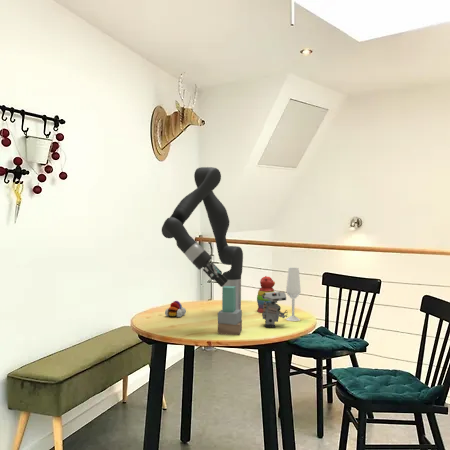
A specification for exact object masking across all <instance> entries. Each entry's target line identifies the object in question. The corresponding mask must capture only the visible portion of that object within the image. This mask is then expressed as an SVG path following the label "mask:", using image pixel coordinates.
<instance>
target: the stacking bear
mask: <svg viewBox="0 0 450 450" xmlns="http://www.w3.org/2000/svg"><path fill="white" fill-rule="evenodd" d="M259 283H260V288H259V289H258V291H257V296H256V302H257V303H256V304H257V309H256V311H257V312H258V313H260V314H262V313H263V306H264V302H265V301H266V303H272V302H271V301H270V300H268V299H263V298H262V294H264V293H269V292H275V289H274V286H275V284H276V282H275V281H274V280H273V278H272V277H270V276H267V275H265V276H263V277H261V279H260V280H259ZM267 301H268V302H267Z"/></svg>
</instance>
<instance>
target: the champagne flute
mask: <svg viewBox="0 0 450 450" xmlns="http://www.w3.org/2000/svg"><path fill="white" fill-rule="evenodd" d="M300 277H301V276H300V269H299V267H288V270H287V280H286V287H285V288H286V289H285V291H286V292H285V294H286V295H287V296H289V298H290V299H291V315H290V316H289V317H288V316H287V317H286V318H285V320H286V321H289V322H298V321H299V322H300V321H301V319H300V318H299V317H297V316H296V315H295V299H297V297H299V296H300V295H301V280H300Z"/></svg>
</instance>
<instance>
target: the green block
mask: <svg viewBox="0 0 450 450" xmlns="http://www.w3.org/2000/svg"><path fill="white" fill-rule="evenodd" d="M235 310H236V286H224V287H223V312H234V311H235Z"/></svg>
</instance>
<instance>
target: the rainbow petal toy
mask: <svg viewBox="0 0 450 450" xmlns="http://www.w3.org/2000/svg"><path fill="white" fill-rule="evenodd" d="M186 313H187V309H186V308H185V307H183V306H182V304H181V302H180V301H178V300H174V301H173V302H171V303H170V307H167V308H166V309H165V311H164V315H165V317H167V318H168V317H171V316H172V317H175V316H176V317H177V318H182V316H185V315H186Z"/></svg>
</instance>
